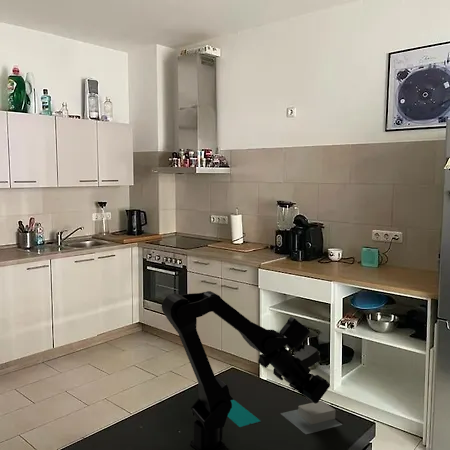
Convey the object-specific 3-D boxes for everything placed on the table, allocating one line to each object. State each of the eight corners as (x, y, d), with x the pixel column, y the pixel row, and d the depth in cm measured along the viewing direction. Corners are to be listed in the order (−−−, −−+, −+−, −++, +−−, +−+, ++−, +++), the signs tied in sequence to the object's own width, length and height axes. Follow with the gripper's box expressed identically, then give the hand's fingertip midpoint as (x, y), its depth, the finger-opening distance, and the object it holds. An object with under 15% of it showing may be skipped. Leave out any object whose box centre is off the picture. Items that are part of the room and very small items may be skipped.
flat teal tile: (233, 398, 137) (262, 421, 124) (233, 401, 137) (262, 424, 124) (212, 404, 134) (239, 427, 121) (211, 407, 134) (239, 431, 121)
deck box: (311, 415, 123) (335, 409, 126) (298, 405, 128) (321, 400, 132) (311, 424, 123) (335, 418, 126) (298, 414, 128) (321, 409, 132)
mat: (305, 435, 118) (305, 434, 118) (280, 414, 129) (280, 413, 129) (342, 426, 123) (342, 424, 123) (315, 406, 134) (315, 405, 134)
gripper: (325, 349, 115) (357, 385, 120) (283, 328, 131) (313, 360, 137) (297, 385, 112) (332, 420, 117) (258, 359, 128) (290, 391, 134)
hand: (316, 395), depth 127 cm, fingers closed
